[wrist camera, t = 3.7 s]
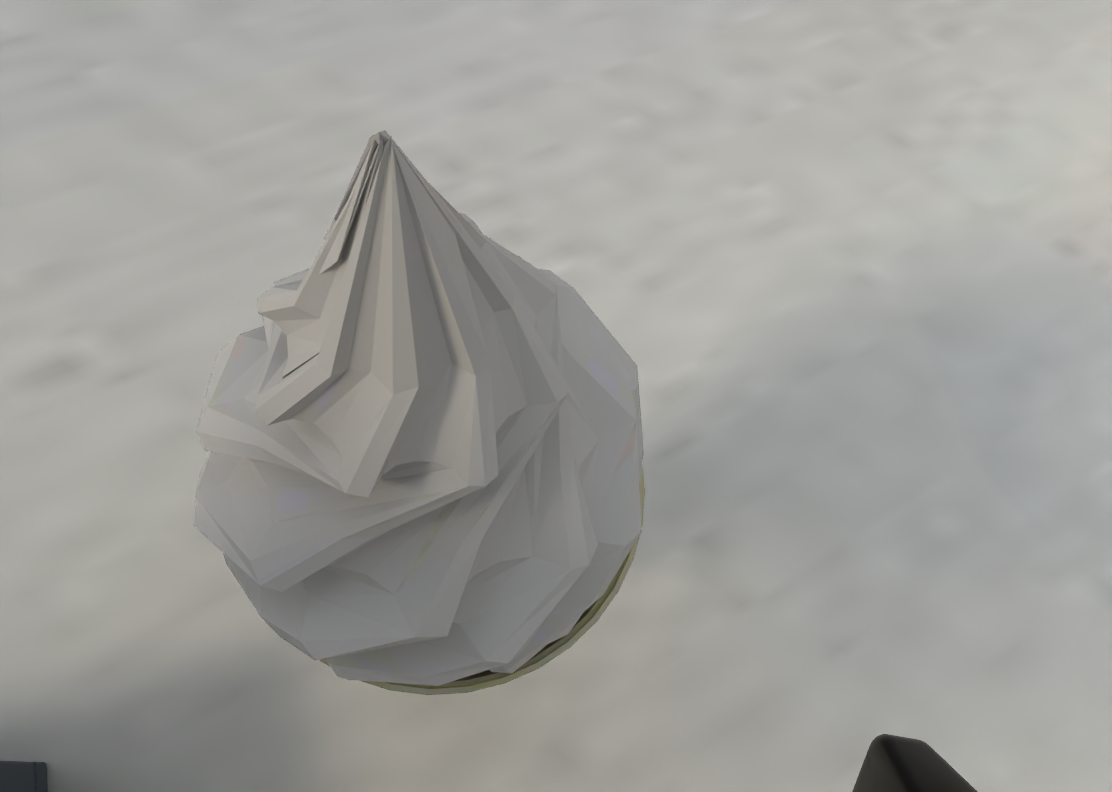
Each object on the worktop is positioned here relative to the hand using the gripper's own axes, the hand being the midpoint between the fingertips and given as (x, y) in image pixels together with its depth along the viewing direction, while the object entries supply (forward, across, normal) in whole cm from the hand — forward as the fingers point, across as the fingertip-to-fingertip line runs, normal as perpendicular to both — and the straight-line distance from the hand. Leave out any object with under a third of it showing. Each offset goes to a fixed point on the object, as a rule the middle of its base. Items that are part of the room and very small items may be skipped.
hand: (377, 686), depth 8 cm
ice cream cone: (+9, 0, +6) cm, 11 cm away
